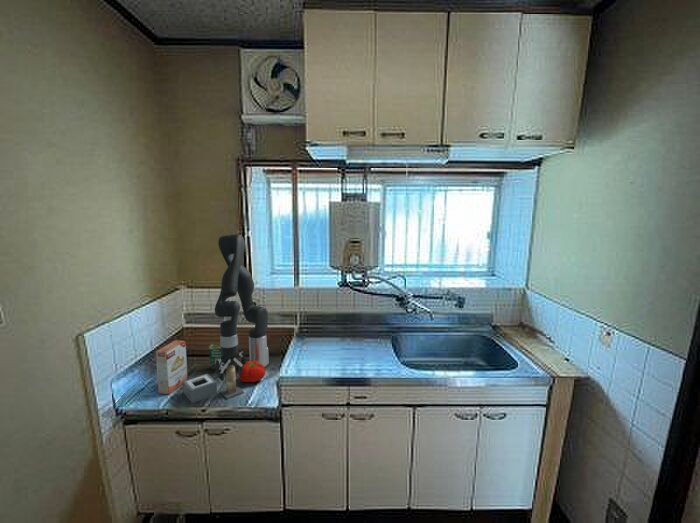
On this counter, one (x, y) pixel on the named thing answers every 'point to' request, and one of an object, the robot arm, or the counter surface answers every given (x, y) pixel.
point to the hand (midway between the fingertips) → (231, 376)
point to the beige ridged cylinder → (231, 379)
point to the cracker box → (171, 366)
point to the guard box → (200, 388)
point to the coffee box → (214, 354)
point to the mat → (230, 395)
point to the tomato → (252, 372)
